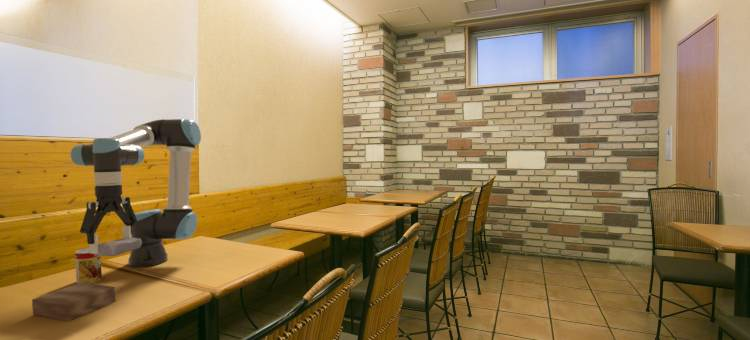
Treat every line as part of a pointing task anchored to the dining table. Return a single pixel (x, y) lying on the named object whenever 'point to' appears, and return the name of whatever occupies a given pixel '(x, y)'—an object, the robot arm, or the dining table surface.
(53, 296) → the walnut plinth
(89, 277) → the canned food
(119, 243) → the stone block
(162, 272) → the dining table surface
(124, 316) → the dining table surface
